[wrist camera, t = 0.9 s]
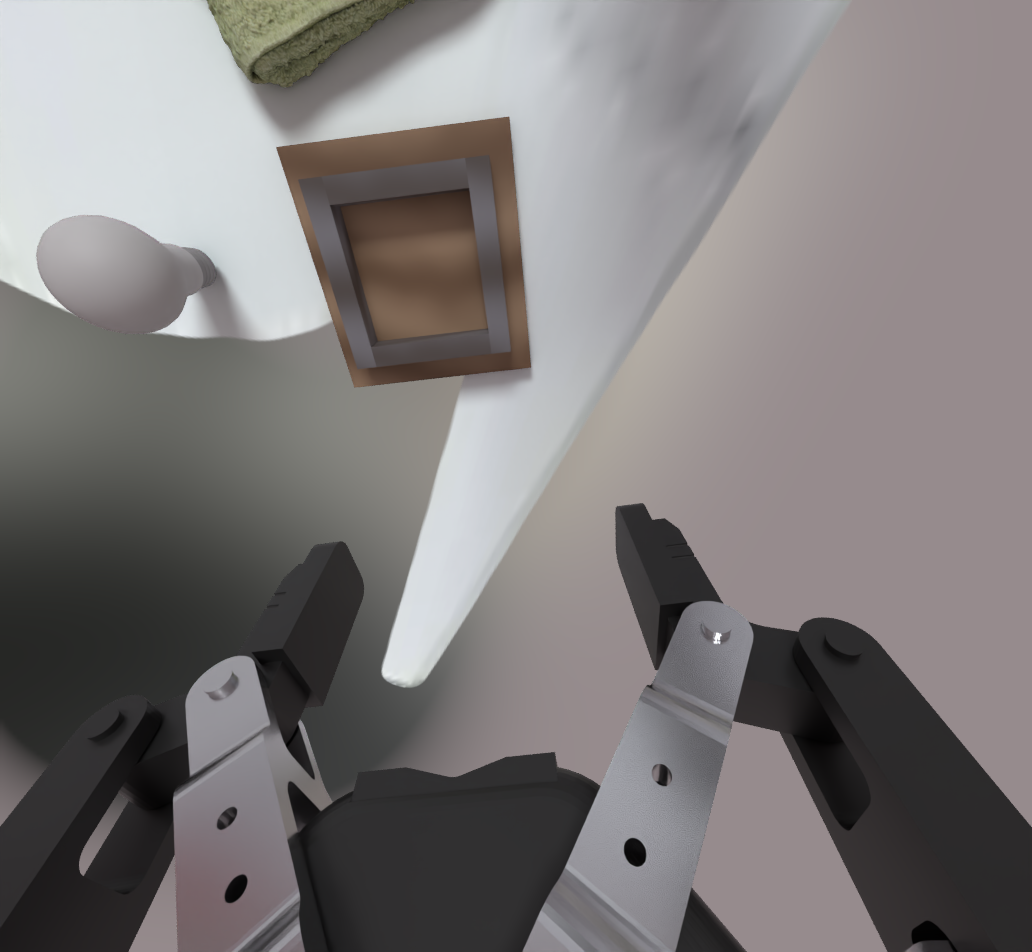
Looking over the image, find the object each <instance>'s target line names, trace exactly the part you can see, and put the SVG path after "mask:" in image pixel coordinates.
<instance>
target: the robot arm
mask: <svg viewBox="0 0 1032 952" xmlns="http://www.w3.org/2000/svg"><path fill="white" fill-rule="evenodd" d="M615 514H616V554H617V560H618V564H619V567H620V570H621V574H622V576H623V579H624V582H625V585H626V588H627V591H628V593H629V596H630V599H631V602H632V605H633V608H634V611H635V614H636V617H637V619H638V622H639V625H640V628H641V631H642V634H643V636H644V639H645V642H646V645H647V648H648V651H649V654H650V657H651V660H652V662H653V665H654V668H655V670H658V672H657V674H656V676H655V679H654V681H653V683H652V684H651V685H647V686H646V687H645V689H644V690H643V692H642V694H641V696H640V698H639V700H638V702H637V705H636V707H635V709H634V711H633V714H632V716H631V718H630V721H629V723H628V725H627V728H626V730H625V732H624V734H623V737H622V739H621V741H620V743H619V746H618V748H617V750H616V753H615V755H614V757H613V759H612V762H611V764H610V766H609V768H608V771H607V773H606V775H605V778H604V780H603V782H602V785H601V786H600V785H598V784H597V783H595V782H594V781H592V780H591V779H589V778H587V777H585V776H583V775H581V774H579V773H576V772H573V771H570V770H567V769H563V768H559V767H557V762H556V756H555V753H554V752H551V753H542V754H533V755H523V756H513V757H505V758H503V759H500V760H498V761H495V762H493V763H490V764H488V765H485V766H483V767H481V768H478V769H476V770H473V771H471V772H468V773H466V774H463V775H461V776H458V777H447V776H442V775H437V774H433V773H428V772H424V771H419V770H415V769H410V768H396V769H387V770H378V771H368V772H359V773H358V776H357V780H356V784H355V788H354V791H352V792H350V793H348V794H346V795H344V796H343V797H341V798H339V799H337V800H336V801H334V802H332V800H331V799H330V797H329V795H328V794H327V792H326V790H325V787H324V785H323V782H322V779H321V776H320V773H319V770H318V767H317V764H316V761H315V758H314V755H313V752H312V749H311V746H310V743H309V740H308V737H307V734H306V731H305V728H304V725H303V723H302V722H301V720H300V717H301V715H302V713H303V710H304V708H307V707H316V706H323V704H324V701H325V699H326V696H327V693H328V691H329V688H330V685H331V682H332V680H333V677H334V675H335V672H336V669H337V666H338V664H339V661H340V658H341V656H342V653H343V650H344V647H345V645H346V642H347V640H348V637H349V634H350V631H351V629H352V626H353V623H354V620H355V618H356V615H357V612H358V610H359V607H360V604H361V602H362V599H363V594H364V584H363V579H362V577H361V575H360V572H359V570H358V568H357V566H356V564H355V562H354V560H353V557H352V556H351V553H350V551H349V549H348V547H347V545H346V544H345V543H344V542H333V543H325V544H318V545H315V546H314V547H313V548H312V549H311V551H310V553H309V555H308V556H307V558H306V560H305V561H304V563H303V564H299V565H298V566H296V567H295V568H294V569H293V570H292V571H291V572H290V573H289V574H288V575H287V576H286V577H285V578H284V579H283V580H282V582H281V584H280V585H279V587H278V588H277V590H276V592H275V596H273V597H272V598H271V600H270V601H269V603H268V605H267V609H265V610H264V611H263V613H262V614H261V616H260V618H259V619H258V621H257V623H256V624H255V626H254V627H253V629H252V631H251V632H250V634H249V635H248V637H247V639H246V640H245V642H244V644H243V645H242V647H241V649H240V650H239V652H238V653H237V655H236V656H235V657H232V658H228V659H226V660H224V661H222V662H220V663H218V664H216V665H215V666H213V667H212V668H210V669H209V670H208V671H206V672H205V673H204V674H203V675H202V676H201V677H200V678H199V679H198V680H197V681H196V682H195V684H194V685H193V686H192V688H191V689H190V692H188V693H186V694H183V695H181V696H178V697H175V698H173V699H170V700H168V701H165V702H162V703H160V704H158V705H155V706H153V705H152V704H151V703H150V702H149V701H148V700H147V699H145V698H144V697H143V696H141V695H130V696H126V697H123V698H120V699H118V700H116V701H114V702H112V703H110V704H108V705H106V706H105V707H103V708H102V709H100V710H99V711H97V712H96V713H95V714H93V715H92V716H91V717H90V718H89V719H87V720H86V721H85V722H84V723H83V724H82V725H81V726H80V727H79V728H78V730H77V731H76V732H75V733H74V734H73V736H72V737H71V738H70V739H69V741H68V742H67V743H66V745H65V746H64V747H63V748H62V750H61V751H60V752H59V753H58V755H57V756H56V757H55V758H54V760H53V761H52V762H51V763H50V765H49V766H48V767H47V768H46V770H45V771H44V772H43V773H42V775H41V776H40V777H39V779H38V780H37V781H36V782H35V784H34V785H33V786H32V787H31V789H30V790H29V791H28V792H27V794H26V795H25V796H24V798H23V799H22V800H21V801H20V802H19V804H18V805H17V806H16V808H15V809H14V810H13V811H12V813H11V814H10V815H9V817H8V818H7V819H6V820H5V822H4V823H3V824H2V825H1V826H0V952H128V951H129V949H130V947H131V945H132V942H133V940H134V938H135V937H136V934H137V932H138V930H139V928H140V926H141V924H142V922H143V920H144V918H145V915H146V914H147V911H148V909H149V907H150V905H151V903H152V901H153V899H154V897H155V895H156V893H157V890H158V888H159V886H160V884H161V882H162V880H163V878H164V876H165V874H166V872H167V870H168V867H169V865H170V863H171V861H172V859H173V857H174V855H175V879H176V910H177V911H176V912H177V943H178V944H177V945H178V952H746V951H745V949H744V948H743V947H742V946H741V945H740V944H739V942H738V941H737V940H736V939H735V938H734V937H733V935H732V934H731V933H730V932H729V931H728V929H727V928H726V927H725V926H724V925H723V924H722V922H721V921H720V920H719V919H718V918H717V917H716V915H715V914H714V913H713V912H712V911H711V909H710V908H708V906H707V905H706V904H705V902H704V901H703V900H702V899H701V898H700V897H699V895H698V894H697V893H696V892H695V891H694V890H693V888H692V883H693V879H694V875H695V871H696V867H697V863H698V859H699V855H700V851H701V847H702V843H703V839H704V836H705V831H706V828H707V823H708V820H709V815H710V812H711V808H712V804H713V800H714V796H715V792H716V787H717V783H718V780H719V776H720V772H721V767H722V763H723V760H724V756H725V752H726V748H727V744H728V739H729V736H730V732H731V727H732V722H733V721H735V722H740V723H745V724H748V725H753V726H758V727H761V728H766V729H770V730H775V731H779V732H780V734H781V736H782V738H783V739H784V742H785V744H786V745H787V748H788V749H789V752H790V754H791V756H792V758H793V760H794V762H795V764H796V766H797V768H798V770H799V772H800V774H801V776H802V778H803V780H804V782H805V784H806V787H807V788H808V791H809V792H810V795H811V797H812V799H813V801H814V803H815V805H816V807H817V809H818V811H819V813H820V815H821V817H822V819H823V821H824V823H825V825H826V827H827V829H828V831H829V833H830V835H831V837H832V839H833V841H834V844H835V845H836V847H837V850H838V852H839V853H840V856H841V858H842V860H843V862H844V864H845V866H846V868H847V870H848V872H849V874H850V876H851V878H852V880H853V882H854V884H855V886H856V888H857V890H858V892H859V894H860V896H861V898H862V900H863V902H864V904H865V906H866V909H867V911H868V913H869V915H870V917H871V919H872V921H873V923H874V925H875V927H876V929H877V931H878V933H879V935H880V937H881V939H882V941H883V943H884V945H885V947H886V949H887V951H888V952H1032V827H1031V826H1030V825H1029V824H1028V822H1027V821H1026V820H1025V819H1024V818H1023V816H1022V815H1021V814H1020V813H1019V811H1018V810H1017V809H1016V808H1015V807H1014V805H1013V804H1012V803H1011V802H1010V801H1009V799H1008V798H1007V797H1006V796H1005V795H1004V793H1003V792H1002V791H1001V790H1000V789H999V787H998V786H997V785H996V784H995V783H994V781H993V780H992V779H991V778H990V777H989V775H988V774H987V773H986V772H985V771H984V769H983V768H982V767H981V766H980V765H979V763H978V762H977V761H976V760H975V758H974V757H973V756H972V755H971V754H970V752H969V751H968V750H967V749H966V748H965V746H964V745H963V744H962V743H961V742H960V740H959V739H958V738H957V737H956V736H955V734H954V733H953V732H952V731H951V730H950V728H949V727H948V726H947V725H946V724H945V722H944V721H943V720H942V719H941V718H940V716H939V715H938V714H937V713H936V712H935V710H934V709H933V708H932V707H931V706H930V704H929V703H928V702H927V701H926V700H925V698H924V697H923V696H922V695H921V693H920V692H919V691H918V690H917V689H916V687H915V686H914V685H913V684H912V683H911V681H910V680H909V679H908V678H907V677H906V675H905V674H904V673H903V672H902V671H901V669H900V668H899V667H898V666H897V665H896V664H895V662H894V661H893V660H892V659H891V657H890V656H889V655H888V654H887V653H886V651H885V650H884V649H883V648H882V646H881V645H880V644H879V643H878V642H877V641H876V640H875V639H874V638H873V637H872V636H870V635H869V634H868V633H866V632H865V631H863V630H862V629H860V628H858V627H856V626H854V625H852V624H850V623H848V622H845V621H841V620H838V619H834V618H814V619H811V620H809V621H806V622H805V623H804V624H803V625H802V626H801V628H800V630H799V632H796V631H790V630H782V629H777V628H770V627H764V626H760V625H756V624H753V623H750V622H748V621H747V620H746V618H745V617H744V616H743V615H742V614H741V613H739V612H738V611H737V610H735V609H733V608H732V607H730V606H727V605H725V604H723V602H722V601H721V599H720V597H719V596H718V594H717V592H716V591H715V589H714V587H713V586H712V584H711V582H710V581H709V579H708V577H707V576H706V574H705V572H704V571H703V569H702V567H701V565H700V564H699V562H698V561H697V559H696V557H694V553H693V552H692V550H691V548H690V547H689V546H688V545H687V542H686V540H685V538H684V537H683V535H682V533H681V531H680V530H679V529H678V528H677V527H675V526H674V525H672V523H670V522H669V521H667V520H666V519H656V520H652V519H651V517H650V515H649V513H648V511H647V509H646V507H645V505H644V504H643V503H640V504H633V505H624V506H617V507H616V513H615ZM117 794H120V795H121V796H123V797H124V798H125V799H127V800H128V801H129V802H128V804H127V805H126V807H125V808H124V810H123V812H122V813H121V815H120V817H119V818H118V820H117V822H116V823H115V825H114V827H113V828H112V830H111V832H110V834H109V835H108V836H107V838H106V840H105V842H104V843H103V845H102V847H101V848H100V850H99V852H98V853H97V855H96V856H95V858H94V860H93V861H92V863H91V865H90V866H89V868H88V870H87V871H86V873H85V875H84V876H82V875H81V873H80V870H79V859H80V856H81V853H82V850H83V848H84V846H85V844H86V843H87V841H88V839H89V838H90V836H91V835H92V833H93V832H94V830H95V828H96V827H97V825H98V824H99V822H100V820H101V819H102V817H103V815H104V814H105V813H106V811H107V809H108V808H109V806H110V804H111V803H112V801H113V800H114V798H115V797H116V795H117Z"/></svg>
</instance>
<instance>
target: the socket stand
mask: <svg viewBox="0 0 1032 952" xmlns="http://www.w3.org/2000/svg"><path fill="white" fill-rule="evenodd" d="M276 148H277V151H278V154H279V157H280V160H281V163H282V167H283V170H284V173H285V176H286V179H287V182H288V185H289V188H290V191H291V194H292V197H293V200H294V203H295V206H296V209H297V213H298V216H299V219H300V222H301V225H302V228H303V231H304V234H305V237H306V240H307V243H308V246H309V249H310V252H311V256H312V259H313V262H314V265H315V268H316V271H317V274H318V277H319V280H320V283H321V286H322V289H323V292H324V295H325V298H326V302H327V305H328V308H329V311H330V314H331V317H332V320H333V323H334V326H335V329H336V332H337V335H338V338H339V341H340V344H341V347H342V351H343V354H344V357H345V359H346V363H347V366H348V369H349V372H350V375H351V378H352V381H353V384H354V387H364V386H373V385H381V384H390V383H398V382H408V381H416V380H424V379H432V378H433V379H434V378H443V377H451V376H460V375H469V374H478V373H487V372H495V371H504V370H513V369H522V368H530V367H531V362H530V351H529V339H528V328H527V316H526V304H525V293H524V281H523V270H522V258H521V247H520V235H519V224H518V212H517V201H516V189H515V177H514V166H513V154H512V143H511V131H510V120H509V117H503V118H495V119H488V120H480V121H472V122H465V123H457V124H449V125H442V126H434V127H427V128H419V129H411V130H404V131H396V132H389V133H381V134H373V135H366V136H358V137H350V138H343V139H335V140H328V141H320V142H312V143H305V144H297V145H290V146H282V147H276Z"/></svg>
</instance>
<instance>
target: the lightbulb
mask: <svg viewBox="0 0 1032 952" xmlns="http://www.w3.org/2000/svg"><path fill="white" fill-rule="evenodd" d="M36 257H37V265H38V270H39V273H40V276H41V278H42V280H43V282H44V284H45V286H46V287H47V288H48V290H49V291H50V293H51V294H52V295H53V296H54V297H55V298H56V299H57V301H58V302H60V303H61V304H62V305H63V306H64V307H65V308H66V309H68V310H69V311H70V312H72V313H73V314H75V315H76V316H78V317H79V318H81V319H83V320H85V321H87V322H88V323H90V324H93V325H95V326H97V327H100V328H103V329H106V330H109V331H114V332H119V333H125V334H145V333H150V332H155V331H158V330H161V329H163V328H165V327H167V326H168V325H170V324H171V323H172V322H173V321H174V320H176V319H177V318H178V317H179V315H180V314H181V312H182V310H183V308H184V305H185V302H186V299H187V296H189V295H192V294H194V293H196V292H198V291H199V290H200V288H204V287H207V286H209V285H211V284H212V283H213V282H214V281H215V278H216V270H215V266H214V264H213V262H212V261H211V260H210V258H209V257H208V256H207V255H206V254H205V253H203V252H202V251H200V250H197V249H194V248H186V247H179V246H176V245H172V244H162V243H160V242H158V241H157V240H156V239H154V238H153V237H151V236H150V235H148V234H147V233H145V232H143V231H142V230H140V229H138V228H137V227H135V226H133V225H130V224H128V223H126V222H123V221H120V220H117V219H113V218H109V217H105V216H97V215H78V216H73V217H69V218H65V219H62V220H61V221H59V222H57V223H55V224H53V225H52V226H50V227H49V228H48V229H47V230H46V231H45V232H44V233H43V235H42V237H41V239H40V242H39V244H38V246H37V254H36Z"/></svg>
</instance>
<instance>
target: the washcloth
mask: <svg viewBox="0 0 1032 952" xmlns="http://www.w3.org/2000/svg"><path fill="white" fill-rule="evenodd" d="M409 1H410V2H411V3H414V1H415V0H207V2H208V4H209V9H210V11H211V12H212V14H213V15H214V19H215V20H216V22H217V24H218V26H219V29H220V33H221V35H222V38H223V40H224V42H225V43H226V44H227V45H228V46H229V48H230V50H231V52H232V55H233V57H234V60H235V62H236V64H237V65H238V67H240V68H241V70H242V71H243V72H244V74H245V75H246V77H247V78H248V79H249V80H250V81H251V82H253V83H257V84H259V83H263V84H265V83H269V82H271V83H273V84H279V85H280V86H281V87H283V88H285V87H291V86H292V85H293V82H296V81H297V80H299V79H300V78H301V77H304V76H310V75H311V74H312V72H313V71H314V70H315V68H317V67H318V63H323V62H324V61H325V59H327V58H329V56H330V55H331V54H332V53H333V52H335V51H337V50H338V49H339V47H340V46H341V45H343V44H346V43H347V42H348V41H350V40H353V39H355V38H356V37H357V36H360V35H361V33H362V32H363V31H368V30H369V29H370V27H372V25H373V24H374V23H375V22H376V21H377V20H378V19H381V20H383V19H384V17H385V16H386V15H387V13H392V12H393V11H394V10H395V9H396V8H397V7H399V8H400V9H403V8H404V6H405V5H406V4H408V3H409Z"/></svg>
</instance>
